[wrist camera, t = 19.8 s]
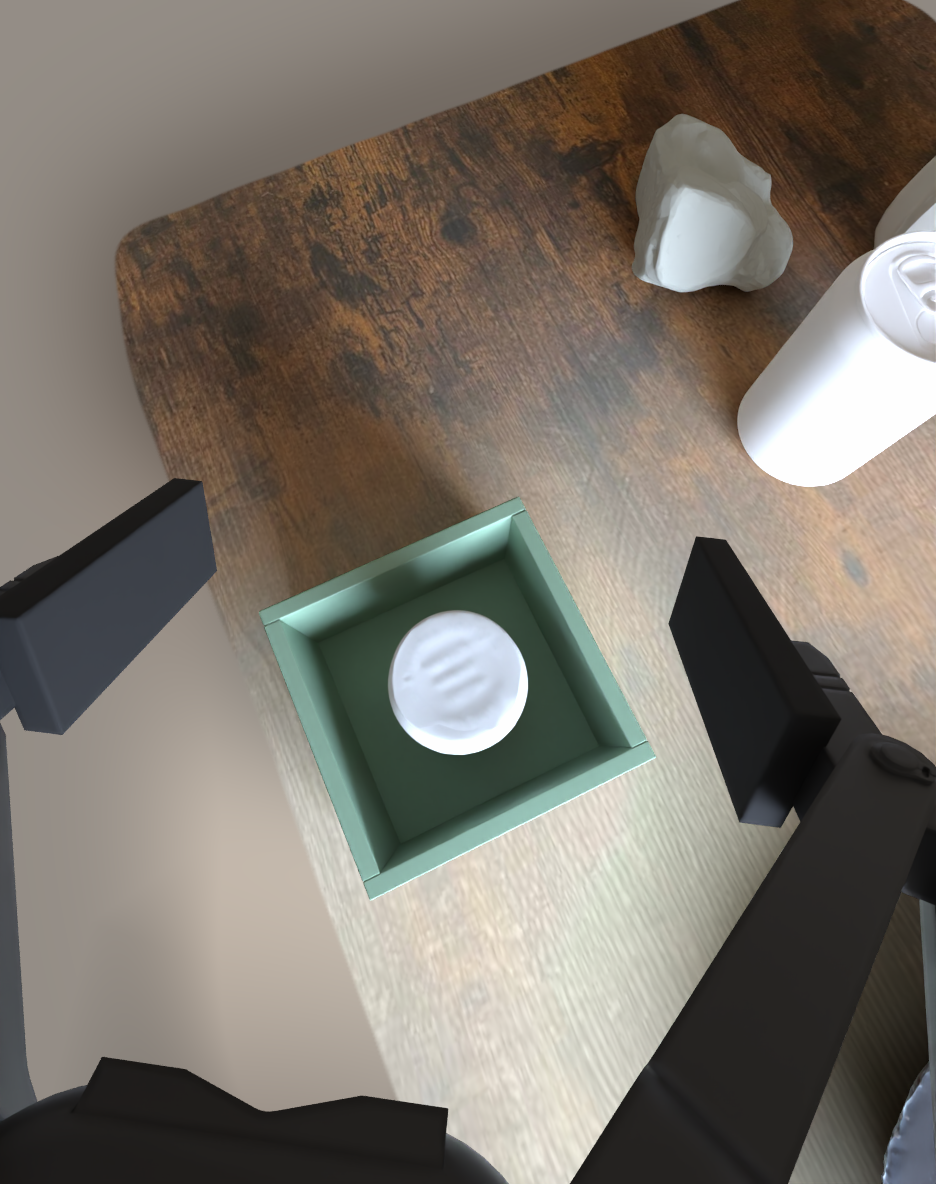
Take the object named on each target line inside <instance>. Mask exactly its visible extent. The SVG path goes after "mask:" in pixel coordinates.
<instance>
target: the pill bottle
mask: <svg viewBox="0 0 936 1184" xmlns="http://www.w3.org/2000/svg"><path fill="white" fill-rule="evenodd" d="M527 690H528V677H527V670H526V666H525V662H524V660H523V657H522V655H521V652H520V650H519V649H518V647H517V645H516V644H515V643H514V641H513V640H512V639H511V637H510V636H509V635H508V634H507V633H506V632H505V631H504V630H503V628H501V627H500V626H499V625H498V624H496V623H495V622H494V621H492V620H490V619H489V618H487V617H485V616H483V615H480V614H477V613H474V612H469V611H461V610H452V611H445V612H440V613H437V614H434V615H431V616H429V617H427V618H425V619H423V620H422V621H420V622H419V623H417V624H416V625H415V626H414V627H412V628H411V629H410V630H409V631H408V632H407V634H406V635H405V636H404V637H403V639H402V640H401V642H400V643H399V645H398V647H397V649H396V651H395V654H394V657H393V659H392V662H391V666H390V669H389V676H388V693H389V699H390V703H391V706H392V709H393V712H394V714H395V716H396V718H397V720H398V721H399V723H400V725H401V726H402V727H403V729H404V730H405V731H406V732H407V733H408V734H409V735H410V736H411V737H412V738H413V739H414V740H416V741H417V742H418V743H420V744H421V745H423V746H425V747H427V748H429V749H431V750H434V751H437V752H440V753H445V754H459V755H466V754H470V753H475V752H478V751H481V750H484V749H486V748H488V747H490V746H492V745H493V744H495V743H497V742H498V741H500V740H501V739H502V738H503V737H505V736H506V735H507V734H508V733H509V732H510V730H511V729H512V728H513V727H514V726H515V724H516V722H517V720H518V719H519V717H520V715H521V713H522V711H523V708H524V705H525V702H526V697H527Z"/></svg>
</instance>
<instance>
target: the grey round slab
mask: <svg viewBox="0 0 936 1184" xmlns="http://www.w3.org/2000/svg"><path fill="white" fill-rule="evenodd" d="M883 1164H884V1173H883V1174H881V1177H882V1183H881V1184H936V1162H935V1146H934V1130H933V1114H932V1097H931V1081H930V1065H929V1062H928V1063H927V1064H926V1065H925V1067H924V1068H923V1069H922V1071H921V1072H920V1073H919V1075H918V1076H917V1079H916V1080H915V1081H914V1084H913V1085H912V1087H911V1088H910V1092H909V1095H908V1098H907V1099H906V1102H905V1104H904V1107H903V1109H902V1112H901V1114H900V1116H899V1118H898V1123H897V1124H896V1126H895V1127H894V1129H893V1131H892V1136H891V1139H890V1142H889V1144H888V1147H887V1151H886V1154H885V1155H884V1162H883Z"/></svg>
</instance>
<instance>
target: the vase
mask: <svg viewBox="0 0 936 1184" xmlns="http://www.w3.org/2000/svg"><path fill="white" fill-rule="evenodd" d="M914 231H936V156H935V157H934V158H933V159H932V160H931V161H930V162H929V163H928V164H926V165H925V166H924V167H923V168H922V169H921V171H920V172H919V173H918V174H917V175H916V176H915V177H914V178H913V179H912V180H911V181H910V182H909V183H908V184H907V185H906V186H905V187H904V188H903V189H902V190H901V191H900V193H899V194H898V195H897V197H896V198H895V199H894V200H893V202H892V203H891V204H890V206H889V207H888V208H887V209H886V211H885V212H884V214H883V216H882V218H881V220H880V221H879V223H878V225H877V227H876V229H875V242H874V249H876V248H877V247H878V246H879V245H880V244H882V243H883V242H885V241H887V240H888V239H890V238H893V237H895V236H897V235H900V234H904V233H908V232H914Z"/></svg>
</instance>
